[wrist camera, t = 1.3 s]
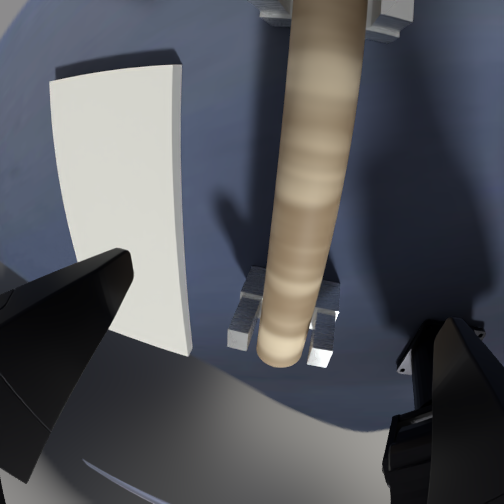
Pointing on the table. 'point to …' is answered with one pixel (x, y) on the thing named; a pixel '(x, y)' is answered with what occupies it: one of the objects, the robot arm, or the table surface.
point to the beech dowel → (310, 167)
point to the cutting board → (128, 189)
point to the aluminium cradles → (327, 305)
